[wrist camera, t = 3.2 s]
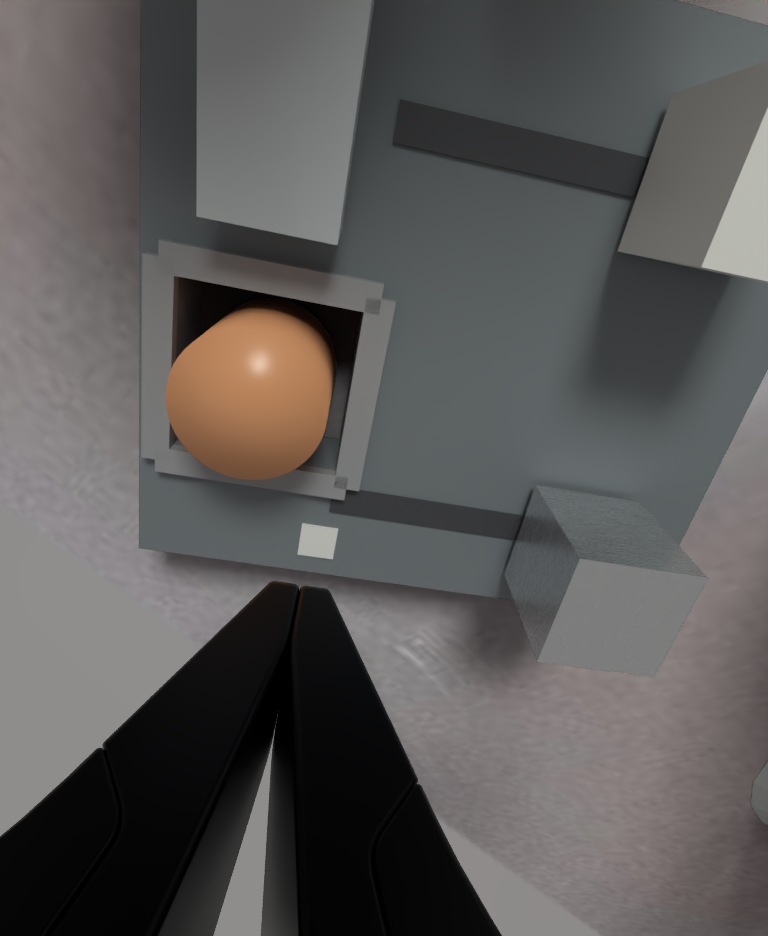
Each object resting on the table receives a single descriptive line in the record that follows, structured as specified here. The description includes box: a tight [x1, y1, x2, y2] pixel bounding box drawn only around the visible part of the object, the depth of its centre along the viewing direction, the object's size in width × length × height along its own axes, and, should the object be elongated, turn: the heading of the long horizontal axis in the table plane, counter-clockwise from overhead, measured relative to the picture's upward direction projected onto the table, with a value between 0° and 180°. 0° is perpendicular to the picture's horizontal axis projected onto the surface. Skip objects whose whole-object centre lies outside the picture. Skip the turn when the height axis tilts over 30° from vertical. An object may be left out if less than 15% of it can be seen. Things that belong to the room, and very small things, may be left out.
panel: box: [139, 0, 768, 600], centre depth 16 cm, size 18×17×3 cm
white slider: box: [618, 60, 768, 283], centre depth 12 cm, size 4×4×4 cm
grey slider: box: [504, 485, 708, 677], centre depth 16 cm, size 4×4×4 cm
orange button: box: [165, 299, 336, 480], centre depth 16 cm, size 4×4×4 cm
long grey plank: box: [196, 0, 375, 245], centre depth 12 cm, size 3×6×1 cm, turn 169°
